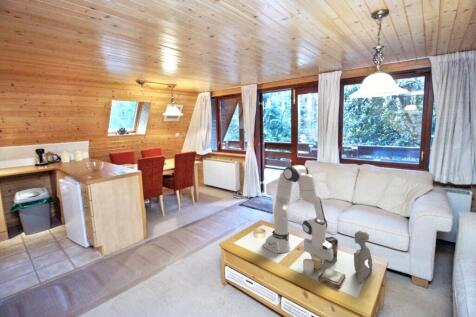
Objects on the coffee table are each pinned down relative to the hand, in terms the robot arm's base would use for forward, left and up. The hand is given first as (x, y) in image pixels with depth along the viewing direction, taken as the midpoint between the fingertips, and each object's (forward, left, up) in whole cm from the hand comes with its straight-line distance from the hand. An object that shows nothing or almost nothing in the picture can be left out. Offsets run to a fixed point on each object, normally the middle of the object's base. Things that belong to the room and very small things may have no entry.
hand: (317, 261), depth 167 cm
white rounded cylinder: (-3, -8, -6) cm, 10 cm away
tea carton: (0, 0, -3) cm, 3 cm away
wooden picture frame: (+12, -6, -5) cm, 14 cm away
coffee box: (+3, +16, -6) cm, 17 cm away
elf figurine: (+25, +12, -6) cm, 28 cm away
